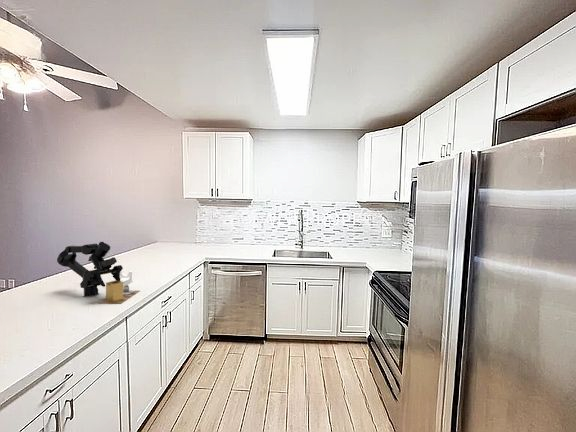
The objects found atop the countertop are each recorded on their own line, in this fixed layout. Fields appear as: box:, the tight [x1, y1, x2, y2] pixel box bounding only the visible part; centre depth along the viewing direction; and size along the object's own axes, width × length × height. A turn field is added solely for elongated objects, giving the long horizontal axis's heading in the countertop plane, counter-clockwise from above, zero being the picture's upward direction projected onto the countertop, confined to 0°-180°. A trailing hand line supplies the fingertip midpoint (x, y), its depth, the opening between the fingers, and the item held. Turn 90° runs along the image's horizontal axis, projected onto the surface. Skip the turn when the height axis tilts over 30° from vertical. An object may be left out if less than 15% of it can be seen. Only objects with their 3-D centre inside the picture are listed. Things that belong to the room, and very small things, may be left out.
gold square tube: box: [105, 280, 123, 303], centre depth 189 cm, size 6×6×10 cm
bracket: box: [113, 270, 133, 287], centre depth 229 cm, size 13×7×8 cm, turn 1°
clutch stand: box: [97, 284, 141, 305], centre depth 196 cm, size 26×12×6 cm, turn 1°
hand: (112, 284), depth 190 cm, fingers open, 9 cm apart
